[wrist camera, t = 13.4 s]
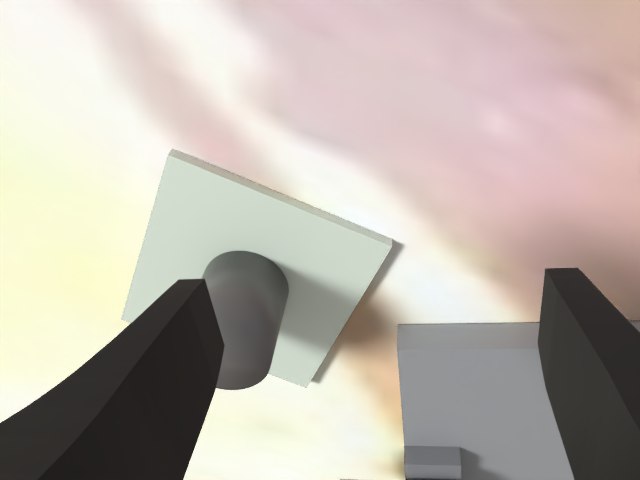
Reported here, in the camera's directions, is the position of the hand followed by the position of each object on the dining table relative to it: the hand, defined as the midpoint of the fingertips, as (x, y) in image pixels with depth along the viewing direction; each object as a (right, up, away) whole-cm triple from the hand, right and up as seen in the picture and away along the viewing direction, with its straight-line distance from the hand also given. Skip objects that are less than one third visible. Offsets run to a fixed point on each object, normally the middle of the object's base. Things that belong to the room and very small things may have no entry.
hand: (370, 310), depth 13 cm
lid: (-4, 0, +13) cm, 13 cm away
